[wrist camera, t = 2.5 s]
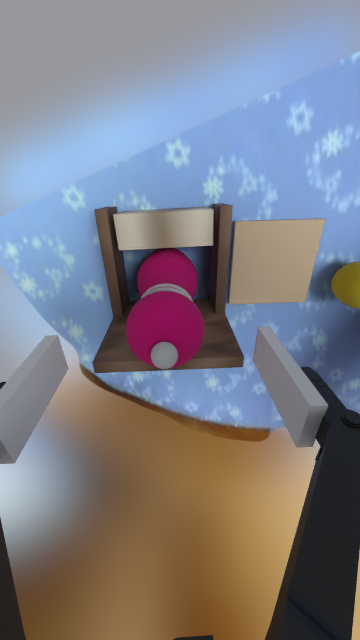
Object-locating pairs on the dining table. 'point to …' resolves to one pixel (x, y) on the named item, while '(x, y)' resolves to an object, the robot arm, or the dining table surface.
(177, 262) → the pepper mill
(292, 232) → the cork mat
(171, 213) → the offcut top
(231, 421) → the dining table surface
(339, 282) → the lemon
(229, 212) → the rack
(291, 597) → the robot arm
